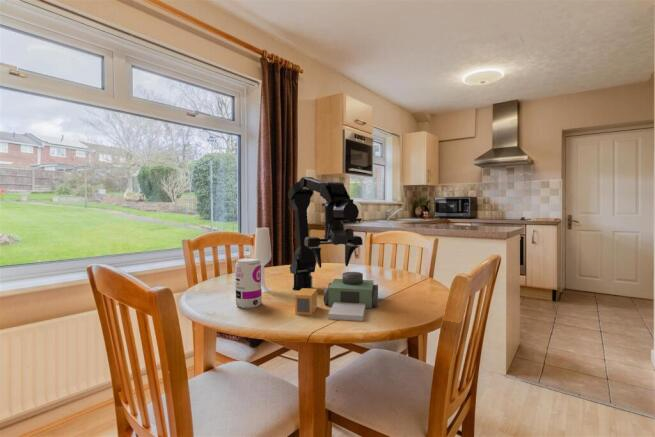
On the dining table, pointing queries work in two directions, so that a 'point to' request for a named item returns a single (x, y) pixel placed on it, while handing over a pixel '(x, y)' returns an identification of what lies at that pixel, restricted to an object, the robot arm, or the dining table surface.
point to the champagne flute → (263, 252)
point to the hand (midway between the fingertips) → (333, 266)
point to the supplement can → (248, 282)
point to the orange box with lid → (306, 301)
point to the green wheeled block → (350, 296)
